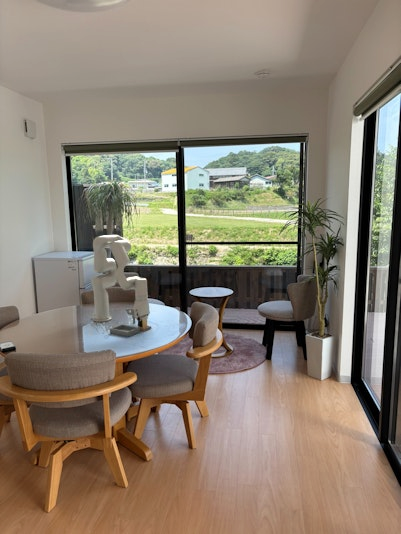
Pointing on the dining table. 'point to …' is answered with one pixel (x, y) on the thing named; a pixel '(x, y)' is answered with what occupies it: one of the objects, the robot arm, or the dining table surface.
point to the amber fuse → (144, 322)
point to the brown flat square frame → (145, 328)
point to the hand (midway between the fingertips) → (142, 325)
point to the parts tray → (125, 330)
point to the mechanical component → (131, 313)
